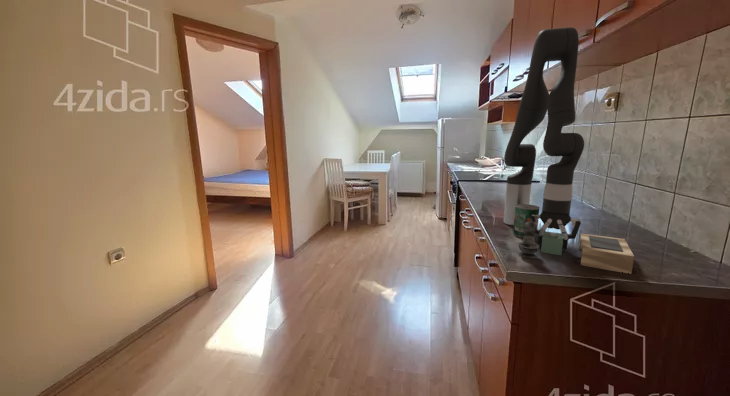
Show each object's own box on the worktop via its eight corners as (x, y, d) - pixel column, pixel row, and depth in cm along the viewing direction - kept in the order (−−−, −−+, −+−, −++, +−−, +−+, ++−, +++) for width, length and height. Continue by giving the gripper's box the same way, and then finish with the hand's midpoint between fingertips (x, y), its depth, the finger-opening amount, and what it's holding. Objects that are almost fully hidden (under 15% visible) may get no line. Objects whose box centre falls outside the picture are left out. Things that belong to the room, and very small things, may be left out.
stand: (578, 247, 99) (580, 232, 98) (622, 254, 93) (624, 238, 92) (580, 265, 85) (583, 247, 84) (631, 274, 80) (634, 255, 78)
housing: (542, 243, 103) (544, 228, 102) (561, 246, 100) (563, 231, 99) (540, 252, 96) (542, 236, 94) (561, 255, 93) (563, 239, 92)
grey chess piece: (535, 253, 95) (539, 216, 92) (540, 260, 89) (544, 221, 87) (515, 251, 96) (518, 215, 94) (518, 258, 91) (522, 220, 89)
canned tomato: (514, 230, 118) (517, 203, 116) (537, 233, 113) (540, 205, 111) (511, 236, 111) (513, 207, 109) (535, 239, 107) (538, 209, 105)
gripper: (584, 197, 94) (577, 248, 97) (532, 193, 101) (527, 240, 105) (586, 201, 87) (578, 256, 91) (530, 197, 95) (525, 247, 98)
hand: (551, 247), depth 98 cm, fingers closed on housing, 5 cm apart
